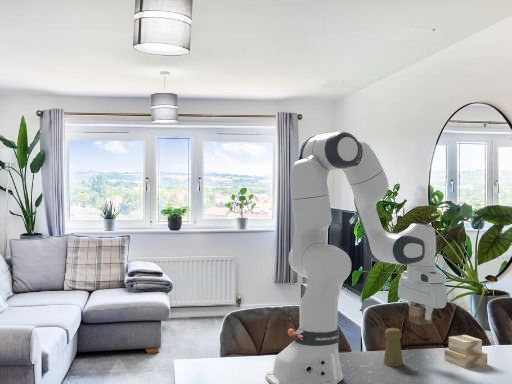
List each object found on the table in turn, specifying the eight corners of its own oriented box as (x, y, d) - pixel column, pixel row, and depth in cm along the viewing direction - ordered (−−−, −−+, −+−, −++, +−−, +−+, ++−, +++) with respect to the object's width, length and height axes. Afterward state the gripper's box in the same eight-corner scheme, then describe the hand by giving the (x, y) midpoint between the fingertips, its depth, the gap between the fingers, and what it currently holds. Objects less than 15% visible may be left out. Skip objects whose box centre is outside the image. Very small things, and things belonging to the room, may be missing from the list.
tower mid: (464, 355, 171) (465, 342, 171) (448, 349, 177) (448, 336, 177) (481, 352, 173) (482, 340, 173) (465, 347, 180) (465, 334, 180)
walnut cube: (418, 324, 173) (419, 308, 173) (408, 321, 178) (409, 305, 178) (431, 323, 175) (432, 308, 175) (421, 320, 179) (422, 305, 179)
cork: (405, 366, 171) (405, 331, 171) (385, 366, 171) (385, 331, 171) (400, 360, 177) (400, 326, 177) (381, 360, 177) (381, 326, 177)
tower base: (464, 369, 169) (464, 356, 169) (444, 361, 177) (444, 349, 177) (487, 366, 172) (487, 353, 172) (466, 358, 181) (466, 346, 181)
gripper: (393, 270, 185) (392, 311, 185) (433, 278, 166) (432, 324, 166) (409, 269, 187) (408, 310, 187) (450, 278, 168) (449, 323, 168)
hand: (420, 317), depth 176 cm, fingers closed on walnut cube, 5 cm apart
